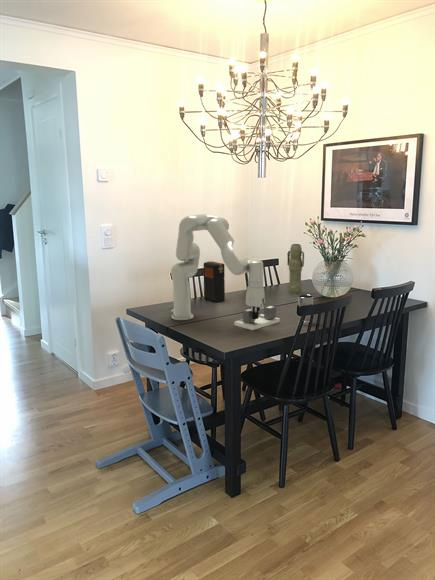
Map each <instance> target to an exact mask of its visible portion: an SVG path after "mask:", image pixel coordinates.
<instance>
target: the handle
mask: <svg viewBox="0 0 435 580" xmlns="http://www.w3.org/2000/svg"><path fill="white" fill-rule="evenodd" d="M263 310H264V312H263V313H264V314H263V315H264V318H265V319H269V320H270V319H274V318H277V307H276V306H273V305H269V306H264V309H263Z"/></svg>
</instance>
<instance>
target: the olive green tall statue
mask: <svg viewBox="0 0 435 580" xmlns="http://www.w3.org/2000/svg"><path fill="white" fill-rule="evenodd" d="M302 250H303V249H302V245H301V244H300V243H293V244H291V246H290V249H289V251H288V252H286V253H287V265H288V270H289V283H288V295H289V294H290V295H300V294H301V295H302V290H303V289H302V270H303V267H304V265H305V252H304V251H302ZM290 295H289V296H290Z"/></svg>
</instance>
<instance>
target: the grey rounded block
mask: <svg viewBox="0 0 435 580" xmlns="http://www.w3.org/2000/svg"><path fill="white" fill-rule="evenodd" d="M242 319H243V322H246V323H251V322H254V321H255V319H252V311H251V308H248V309H244V310H243V311H242Z"/></svg>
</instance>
